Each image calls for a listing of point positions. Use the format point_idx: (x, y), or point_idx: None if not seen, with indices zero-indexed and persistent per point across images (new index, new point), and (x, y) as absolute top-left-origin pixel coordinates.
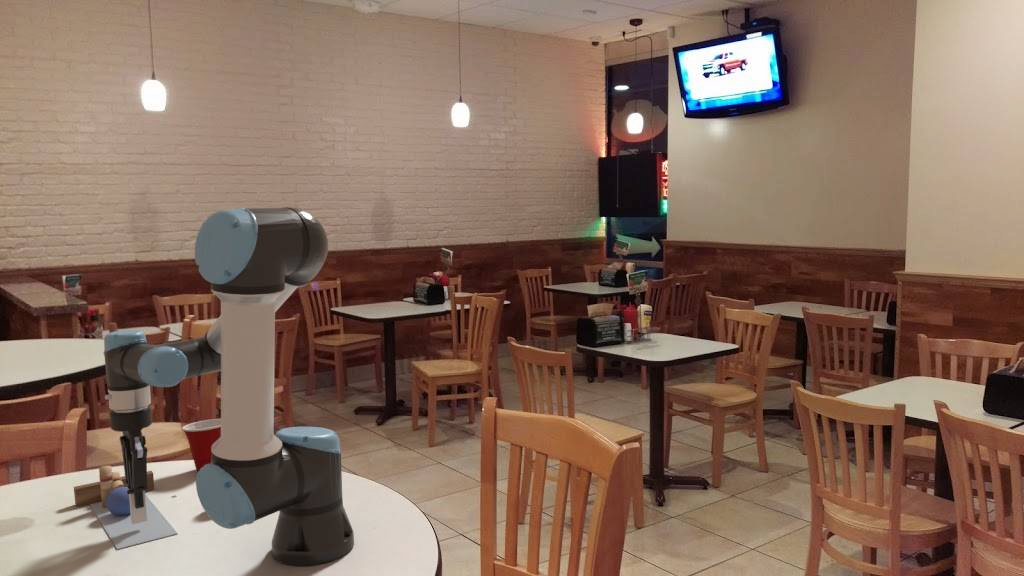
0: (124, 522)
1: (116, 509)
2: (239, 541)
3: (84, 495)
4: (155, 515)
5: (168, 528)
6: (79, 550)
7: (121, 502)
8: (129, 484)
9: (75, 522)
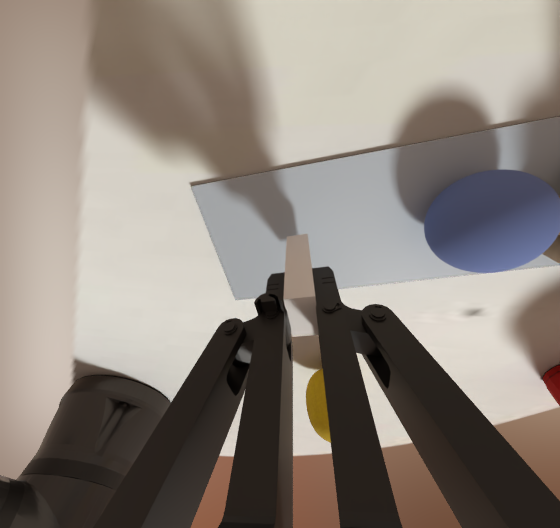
0: (377, 208)
1: (438, 200)
2: (168, 357)
3: None
4: (371, 274)
5: None
6: (228, 65)
7: (442, 225)
8: (318, 322)
9: (545, 27)
